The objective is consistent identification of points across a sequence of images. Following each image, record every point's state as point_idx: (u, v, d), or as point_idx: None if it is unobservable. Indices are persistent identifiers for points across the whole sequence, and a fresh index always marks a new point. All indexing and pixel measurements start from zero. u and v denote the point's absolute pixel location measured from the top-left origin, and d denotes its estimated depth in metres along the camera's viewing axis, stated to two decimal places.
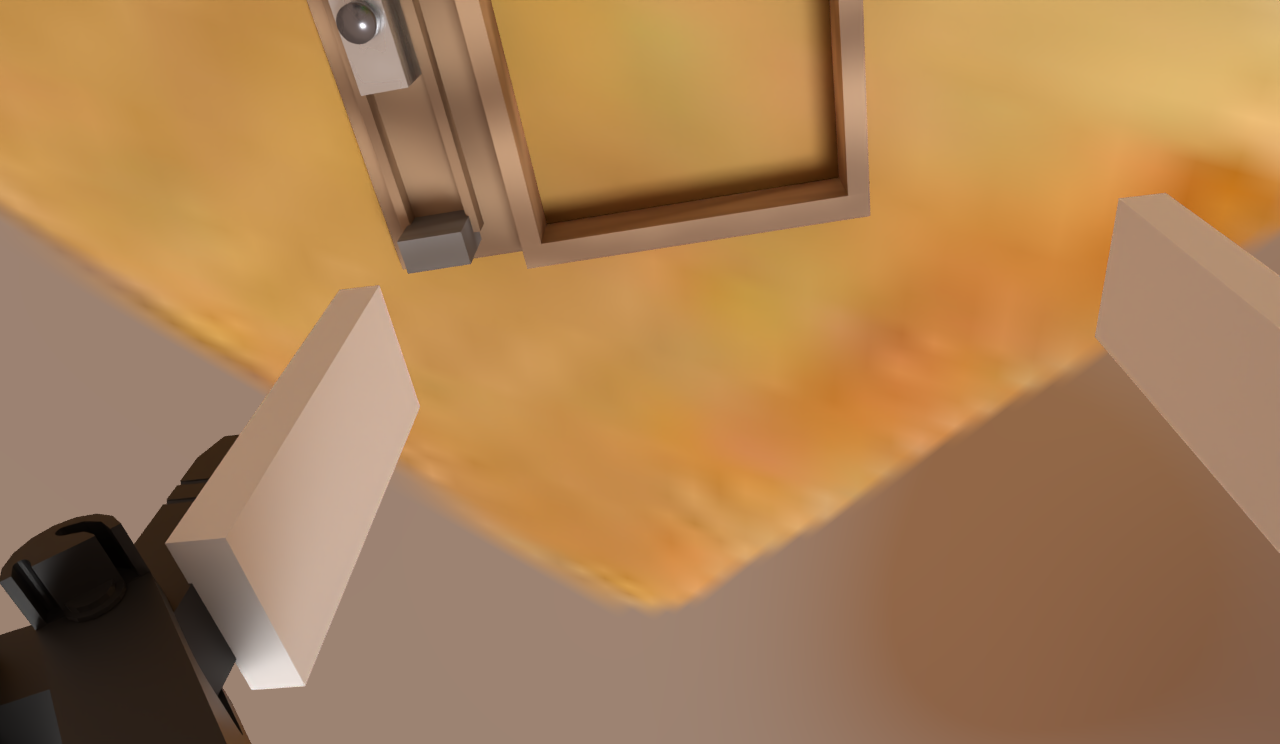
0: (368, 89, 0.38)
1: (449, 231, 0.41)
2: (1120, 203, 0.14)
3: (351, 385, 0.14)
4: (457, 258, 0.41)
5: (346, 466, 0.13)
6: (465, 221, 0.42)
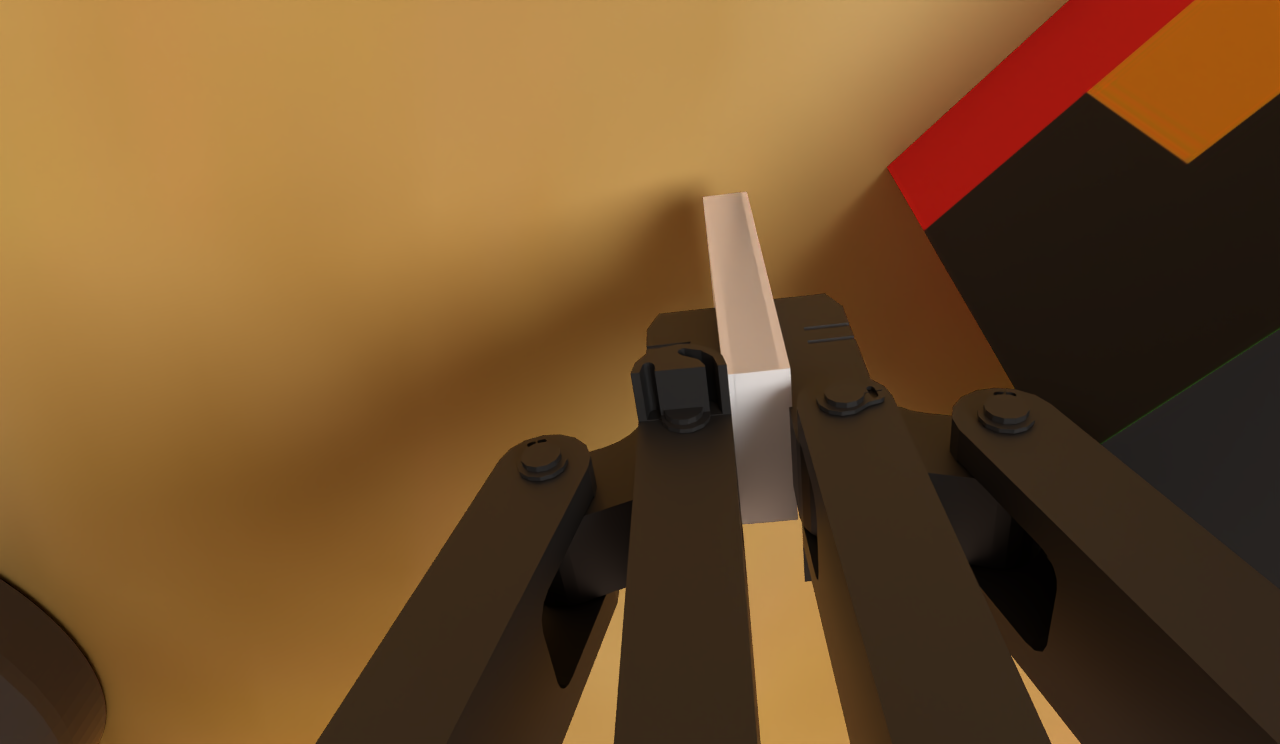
0: None
1: None
2: (708, 200, 0.17)
3: None
4: None
5: None
6: None
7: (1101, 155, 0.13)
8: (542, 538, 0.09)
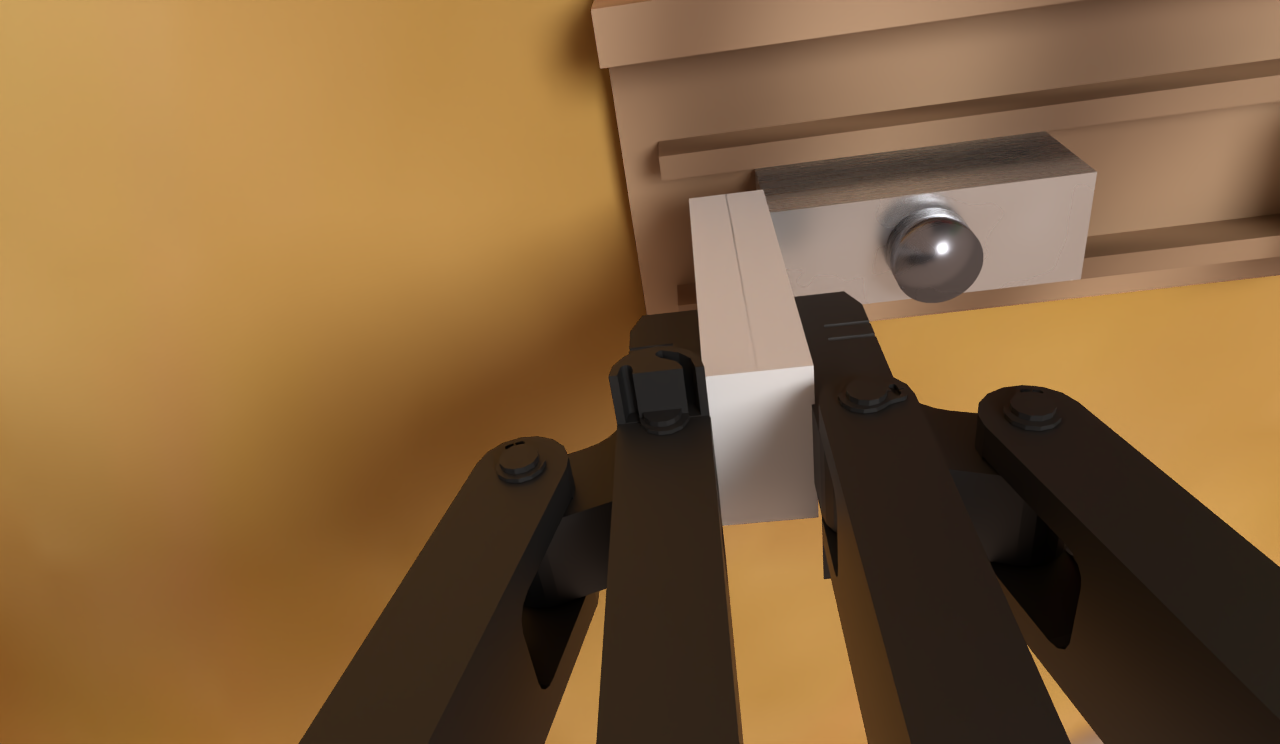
0: (1072, 261, 0.17)
1: None
2: (725, 197, 0.17)
3: None
4: None
5: None
6: None
7: None
8: (521, 540, 0.10)
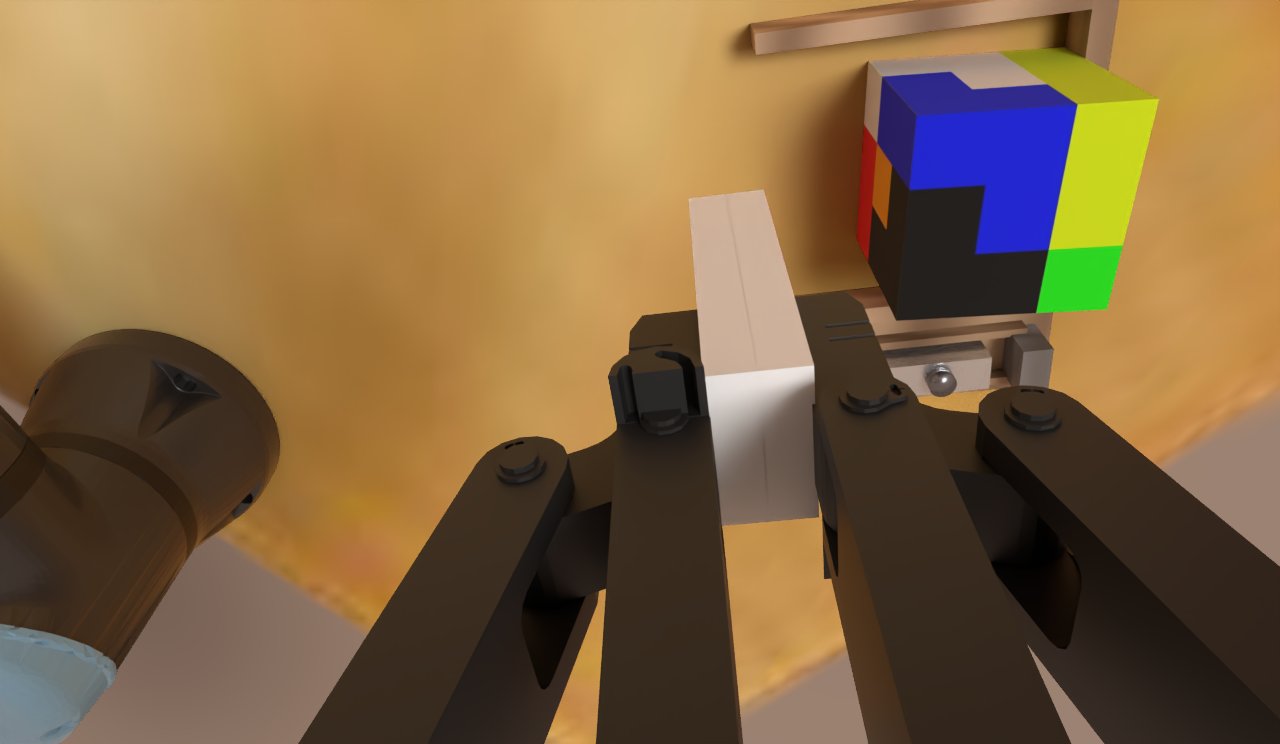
0: (986, 382, 0.52)
1: (1020, 358, 0.50)
2: (726, 197, 0.17)
3: None
4: (1045, 357, 0.50)
5: None
6: (1015, 341, 0.51)
7: (878, 228, 0.44)
8: (520, 540, 0.10)
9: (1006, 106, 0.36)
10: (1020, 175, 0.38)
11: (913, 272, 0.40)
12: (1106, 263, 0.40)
